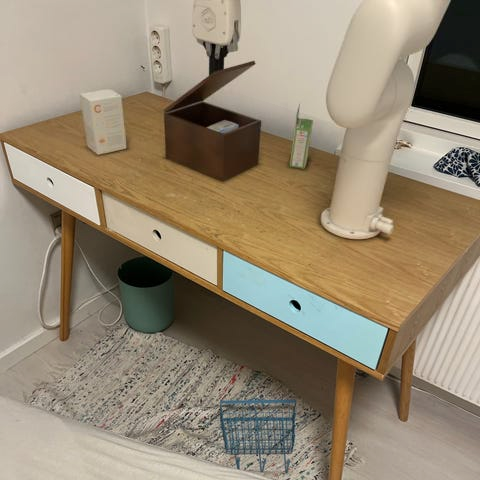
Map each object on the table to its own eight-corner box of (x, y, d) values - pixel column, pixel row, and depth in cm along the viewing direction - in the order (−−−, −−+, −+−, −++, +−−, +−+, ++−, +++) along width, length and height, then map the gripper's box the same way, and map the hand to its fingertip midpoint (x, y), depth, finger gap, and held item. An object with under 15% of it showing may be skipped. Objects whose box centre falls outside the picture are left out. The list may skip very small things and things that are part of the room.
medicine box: (223, 154, 127) (224, 119, 121) (237, 159, 125) (239, 123, 119) (203, 163, 122) (203, 127, 116) (217, 169, 120) (218, 132, 114)
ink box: (305, 169, 124) (313, 114, 116) (289, 167, 125) (296, 112, 116) (307, 158, 130) (315, 104, 121) (292, 156, 130) (299, 102, 121)
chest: (258, 164, 125) (261, 120, 118) (222, 181, 117) (224, 135, 110) (202, 143, 134) (202, 101, 126) (165, 158, 125) (163, 113, 118)
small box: (115, 140, 132) (110, 88, 123) (127, 149, 128) (122, 95, 120) (86, 146, 128) (78, 92, 119) (97, 155, 124) (90, 100, 116)
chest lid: (255, 64, 112) (254, 60, 112) (215, 75, 103) (214, 71, 103) (203, 100, 126) (201, 97, 126) (164, 113, 118) (162, 110, 118)
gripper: (178, -27, 101) (180, 72, 113) (235, -16, 94) (231, 88, 106) (203, -29, 106) (202, 66, 118) (259, -19, 99) (253, 81, 111)
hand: (216, 76), depth 112 cm, fingers closed
